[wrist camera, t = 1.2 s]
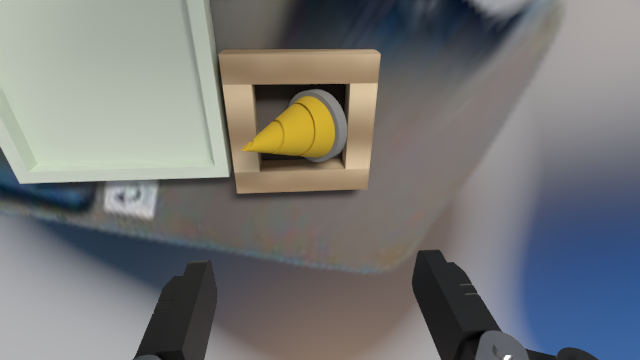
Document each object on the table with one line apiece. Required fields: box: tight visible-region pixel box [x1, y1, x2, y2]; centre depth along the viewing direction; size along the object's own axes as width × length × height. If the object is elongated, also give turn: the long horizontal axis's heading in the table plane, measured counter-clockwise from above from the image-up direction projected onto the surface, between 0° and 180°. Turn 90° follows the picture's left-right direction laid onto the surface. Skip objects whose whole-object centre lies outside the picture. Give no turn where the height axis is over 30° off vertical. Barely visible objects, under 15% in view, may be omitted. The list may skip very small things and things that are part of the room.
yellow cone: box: [242, 89, 347, 162], centre depth 24 cm, size 5×5×10 cm
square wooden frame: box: [218, 49, 381, 194], centre depth 26 cm, size 11×11×2 cm
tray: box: [0, 0, 232, 183], centre depth 23 cm, size 16×16×2 cm
